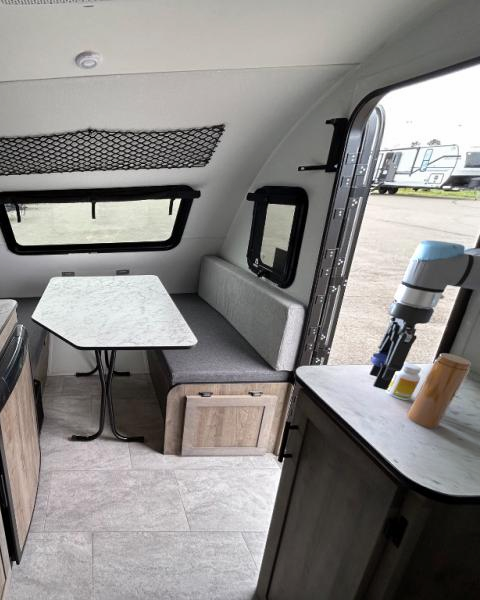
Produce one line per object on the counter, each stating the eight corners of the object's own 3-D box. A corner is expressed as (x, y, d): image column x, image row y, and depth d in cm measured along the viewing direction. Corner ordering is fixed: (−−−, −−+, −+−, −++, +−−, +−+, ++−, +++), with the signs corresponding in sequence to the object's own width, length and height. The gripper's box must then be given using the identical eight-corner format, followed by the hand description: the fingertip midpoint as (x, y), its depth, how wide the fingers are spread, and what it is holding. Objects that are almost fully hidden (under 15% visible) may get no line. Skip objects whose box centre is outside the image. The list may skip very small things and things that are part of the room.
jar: (433, 419, 84) (467, 357, 77) (440, 431, 80) (477, 367, 73) (404, 410, 87) (435, 350, 80) (409, 422, 82) (442, 359, 76)
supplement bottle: (415, 400, 91) (430, 370, 88) (399, 401, 91) (414, 371, 87) (395, 388, 96) (408, 360, 93) (380, 389, 95) (393, 361, 92)
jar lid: (367, 363, 87) (370, 357, 86) (372, 356, 91) (375, 350, 90) (399, 374, 83) (402, 368, 82) (403, 366, 86) (405, 360, 86)
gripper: (447, 320, 71) (403, 405, 79) (423, 297, 86) (389, 371, 94) (402, 311, 75) (364, 393, 83) (387, 290, 90) (356, 362, 98)
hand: (377, 381), depth 89 cm, fingers closed on jar lid, 6 cm apart
